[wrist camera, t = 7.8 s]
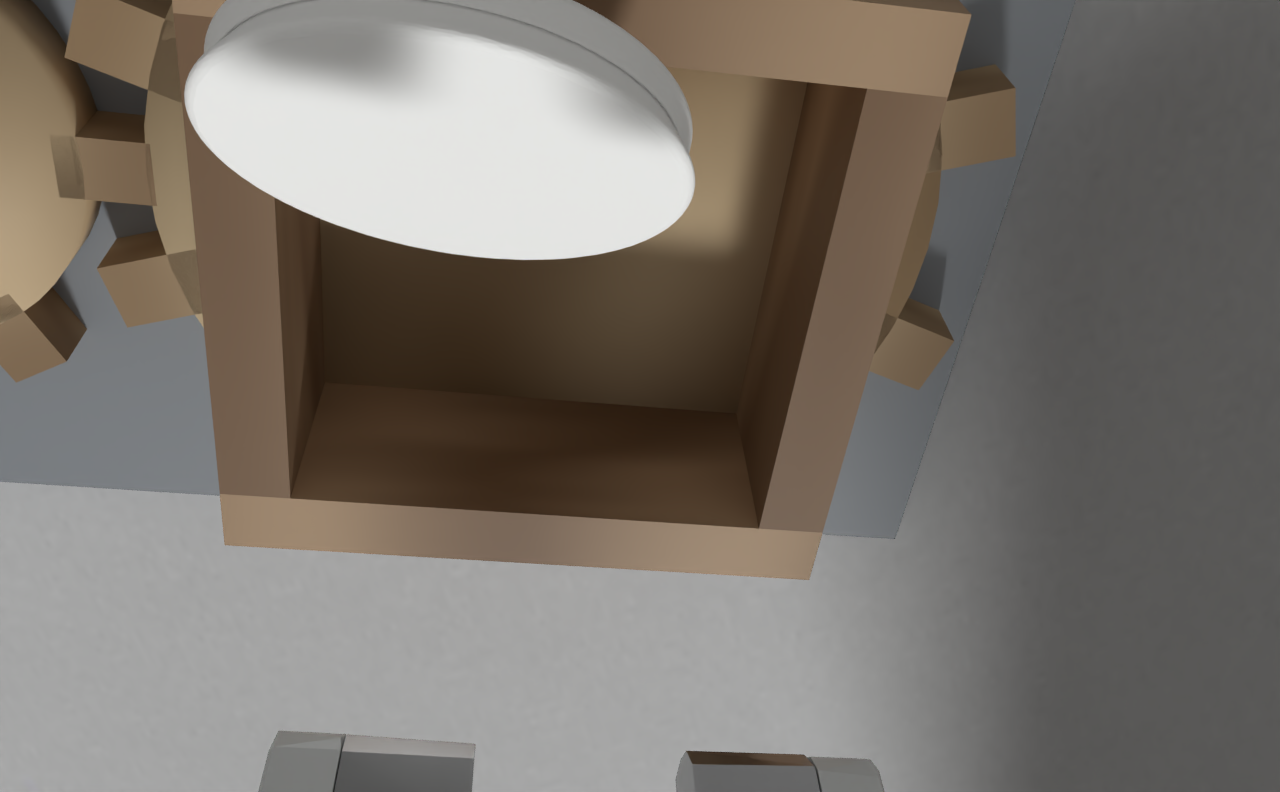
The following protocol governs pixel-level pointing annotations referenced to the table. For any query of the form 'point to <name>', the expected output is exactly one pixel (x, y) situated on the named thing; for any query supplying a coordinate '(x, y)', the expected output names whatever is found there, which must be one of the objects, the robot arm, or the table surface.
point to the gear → (52, 184)
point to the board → (176, 353)
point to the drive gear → (576, 306)
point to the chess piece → (449, 121)
